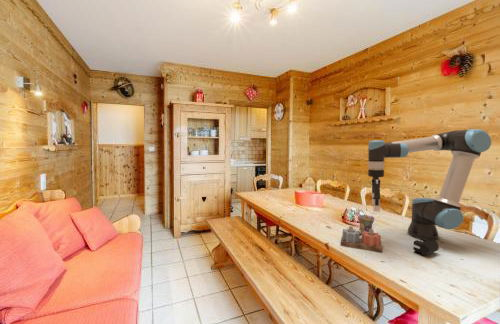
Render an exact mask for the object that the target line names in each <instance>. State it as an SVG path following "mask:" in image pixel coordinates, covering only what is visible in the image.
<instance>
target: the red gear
mask: <svg viewBox="0 0 500 324" xmlns="http://www.w3.org/2000/svg"><path fill="white" fill-rule="evenodd" d="M381 237H382V236H381V234H379V233H378V232H374V235H373V236H371V235H369V232H366V231H364V233H362V234H361V238H362V242H364V244H365V245H370V246H371V247H372V246H377V247H378V246H379V245H380V242H381V243H382V241H381V239H382V238H381Z"/></svg>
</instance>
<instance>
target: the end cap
mask: <svg viewBox="0 0 500 324" xmlns="http://www.w3.org/2000/svg"><path fill="white" fill-rule="evenodd" d="M413 245H414V246H412V247H413V253H414V254H416V255H418V256H421V257H425V256H428V255H430V254H432V253H434V252H437V251H438V250H439V249H440V245H439V243H438V241H437V240H433V239H432V240H428V239H424V238H421V239H420V240H419V239H416V240H414V241H413ZM416 246H417V247H416ZM418 247H419V248H418Z"/></svg>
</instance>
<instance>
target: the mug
mask: <svg viewBox="0 0 500 324" xmlns="http://www.w3.org/2000/svg"><path fill="white" fill-rule="evenodd" d="M375 219H376V218H375V217H374V216H371V215H366V214H359V215H358V216H357V221H358V223H359V229H358V231H359V232H360V235H362V233H364V231H366V232H369V229H373V224H374V221H375Z"/></svg>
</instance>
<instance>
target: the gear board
mask: <svg viewBox="0 0 500 324" xmlns="http://www.w3.org/2000/svg"><path fill="white" fill-rule="evenodd" d="M348 228H349V232H351V233H353V229H354V226H352V225H350V226H348ZM374 233H375V231H374V229H373V228H372V229H369V235H371V236H373V235H374ZM340 246H342V247H347V248H354V249H360V250H364V251H365V250H366V251H371V252H378V253H383V247H382V241H381V242H380V245H379V246H378V247H377V246H372V247H371V246H370V245H365V244H364V242H362V237H360V242H359V243H358V242H355V243H352V242H346V241H345V240H342V237H341V239H340Z"/></svg>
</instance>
